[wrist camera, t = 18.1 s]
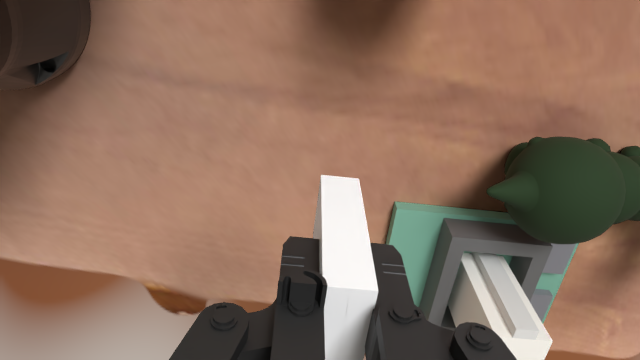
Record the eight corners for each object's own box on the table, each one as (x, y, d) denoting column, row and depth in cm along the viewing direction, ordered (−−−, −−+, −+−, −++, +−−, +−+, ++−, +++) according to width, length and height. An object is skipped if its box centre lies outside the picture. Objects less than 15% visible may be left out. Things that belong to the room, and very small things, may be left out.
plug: (444, 295, 53) (476, 385, 42) (460, 244, 50) (498, 327, 39) (487, 298, 53) (530, 389, 42) (505, 248, 50) (556, 332, 39)
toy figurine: (696, 136, 48) (467, 104, 44) (924, 247, 31) (589, 211, 27) (651, 214, 52) (439, 191, 48) (831, 348, 35) (529, 331, 31)
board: (372, 303, 55) (377, 335, 51) (394, 201, 49) (402, 227, 45) (536, 317, 56) (554, 350, 52) (578, 219, 50) (604, 247, 46)
